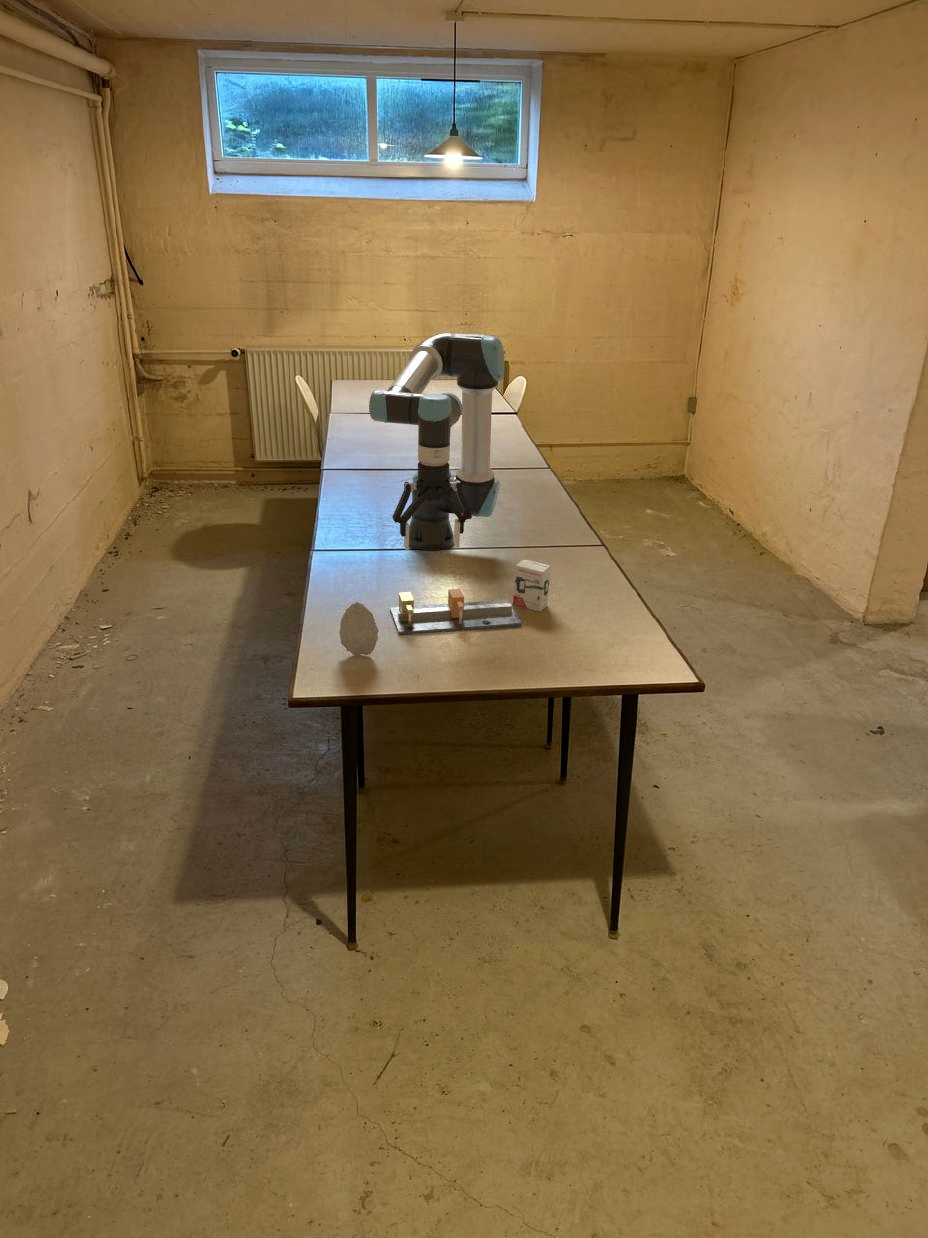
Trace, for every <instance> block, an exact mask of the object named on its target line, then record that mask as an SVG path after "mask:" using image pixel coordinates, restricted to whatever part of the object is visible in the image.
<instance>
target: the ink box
mask: <svg viewBox="0 0 928 1238" xmlns="http://www.w3.org/2000/svg"><path fill="white" fill-rule="evenodd" d="M551 570H552V566H551V565H549V564H545V563H541V562H538V561H534V560H533V561H532V560H529V559H521V561H520V562H518V563H517V564H516V565H515V572H514V586H513V599H512V605H515V606H518V607H522V608H526V609H530V610H534V611H537V612H542V611H543V610H545V608H546V607H547V606H548V602H549V593H550V592H549V591H550V583H551V582H550V580H551Z"/></svg>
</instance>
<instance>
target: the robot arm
mask: <svg viewBox="0 0 928 1238" xmlns="http://www.w3.org/2000/svg"><path fill="white" fill-rule="evenodd" d="M505 365H506V364H505V353H504V346H503V343H502V340H500V338H499V337H497V336H494V335H486V334H475V333H473V334H472V333H456V332H455V333H454V332H443V333H442V332H441V333H437V334H435V335H431V336H430V337H428V338H426V339H424V340H422V341H421V342H420V343H418V344H417V345H416V346H415V347H414V348H412V350H411V352H410V353H409V356H408V361H407V363H406V365H405V366H404V367H403V368H402V370H401V372H400V373H399V374H398V375H397V377H396V378H395V379H394V381H393V382H392V383H391V385H390V386H389V387H388V389H387V390H384V389H381V390H379V389H378V390H377V389H376V390H373V391H372V393H371V394H370V396H369V402H368V411H369V416H370V418H371V419H372V420H373V421H374V422H381V423H385V424H400V425H413V426H417V427H418V429H417V431H418V434H417V435H418V436H417V437H418V441H417V442H418V443H417V444H418V445H417V461H418V462H417V471H416V472H415V473H414V475H413V477H412V482H409V481H405V482H404V483H403V492H402V493H401V496H400V498H399V500H398V503H397V505H396V507H395V509H394V512H393V514H392V517H391V518H392V520H393V522H394V523H398V524H399V533H400V536H401V537H403V547H404V549H405V551H409V550H410V547H412V548H414V549H417V550H422V551H440V550H445V549H446V550H447V549H449V548H450V547H452V546H453V545H454V546H455V548H460V540H461V539H460V538H461V536H460V534H464V532H465V530H464V529H465V523H466V520H471V519H472V517H476V518H479V517H483V518H488V517H491V516H492V515H493V513H494V510H495V508H496V505H497V501H498V496H499V492H500V486H501V485H500V483H501V482H500V480H499V479H497V478H495V472H494V470H493V469H491V443H492V442H491V441H492V440H491V439H492V436H491V435H492V413H493V412H492V409H493V405H492V404H493V391H494V390H495V389H496V388H497V387H498V386H499V382H500V381H502V380H503V379H504V375H505ZM440 376H441V377H442V376H444V377H453V378H456V386H458V387H459V389H461V391H462V393H461V395H462V396H461V399H460V398H459V397H458V396H457V395H456V394H454V393H451V392H443V393H426V394H425V393H424V392H425V389H426V388H427V387H428V385H429V384H430V382H431V380H434V379H436V378H437V377H440ZM460 417H461V446H460V447H461V452H460V454H461V456H460V457H461V461H460V462H461V465H460V467H459V469H457V470H456V473H455V475H452V472H451V470H450V463H449V461H450V459H451V458H450V457H451V456H450V455H451V454H450V453H451V451H450V449H451V448H450V445H451V428H452V427H453V426H454V425H456V423H458V422H459V420H460ZM410 496H411V502H410V503H409V505H408V507H407V508H406V505H407V504H408V501H409V499H410ZM405 508H406V510H405ZM450 514H452V515H455V517H456V518H455V519H454V531H453V528H452V524H451V522H450V521H451V520H450ZM410 519H411V520H410ZM409 520H410V522H408V521H409Z"/></svg>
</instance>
